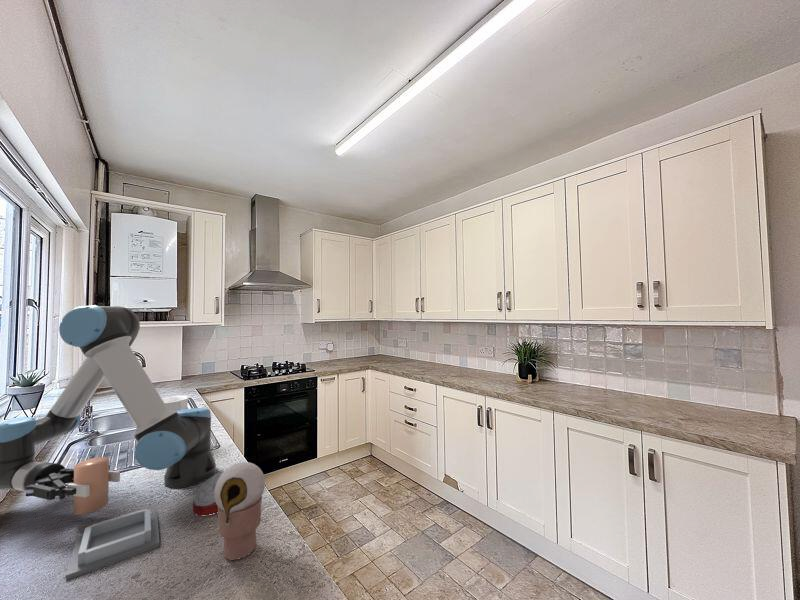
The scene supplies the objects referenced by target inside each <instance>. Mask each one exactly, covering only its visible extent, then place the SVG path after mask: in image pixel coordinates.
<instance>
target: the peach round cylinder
mask: <svg viewBox="0 0 800 600" xmlns="http://www.w3.org/2000/svg"><path fill="white" fill-rule="evenodd" d="M109 465H110V457H108V456H97V457H92V458H88V459H84V460H82V461H79V462H78V463H76V464H75V465H74V466H73V469H74V484H83V485H89V496H88V497H79V496H73V510H72V511H73V512H72V513H73V514H74V515H78V516H79V515H87V514H90V513H94V512H96V511H99V510H101V509H103V508H105V507H106V506H107V505H108V504H109V493H110V492H109V485H110V484H109V483H110V482H109Z"/></svg>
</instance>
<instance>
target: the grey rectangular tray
mask: <svg viewBox="0 0 800 600" xmlns="http://www.w3.org/2000/svg"><path fill="white" fill-rule="evenodd" d="M159 532H160V531H159V520H158V511H155V512H151V507H150V508H146V509H145V508H143V509H139V510H136V511H133V512H130V513H129V512H128V513H126V514H123V515H120V516H116V517H113V518H109V519H106V520H102V521H100V522H95V523H93V524H92V525H89V526H86V527H85V528H84V531H83V534H80V535H77V537H76V541H75V543H74V547H73V550H72V553H71V557H70V560H69V563H68V567H67V570H66V573H65V581H69V580H70V579H73V578H75V577H79V576H82V575H84V574H87V573H90V572H92V571H96V570H99V569H101V568H103V567H106V566H109V565H113V564H115V563H117V562H120V561H124V560H127V559H130V558H132V557H134V556H137V555H141V554H143V553H145V552H148V551H151V550H153V549H157V548H159V547H160V537H159V536H160V534H159Z"/></svg>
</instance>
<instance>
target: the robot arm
mask: <svg viewBox="0 0 800 600" xmlns="http://www.w3.org/2000/svg"><path fill="white" fill-rule="evenodd" d="M61 320H62V321H61V322H60V323H59V327H58V332H59V336H60V338H61V339H62V341H63V342H64V343H65V344H67V345H71V346H73V347H75V348H76V347H77V348H79V349H80V350H81V352H82V354H83V355H84V357H85V359H84V361H83V362H82V363H81V365H80V366H79V368H78V369H77V370H76V372H75V374H74V375H73V377H71V379H70V381H69V382H68V383H67V385H66V387H65V388H64V389H63V391H62V392H61V394H60V395H59V396H58V398H57V400H56V401H55V402H54V404H53V405H52V407H51V408H50V409H49V411H48V412H47V413H46V415H45V416H44V417H41V418H39V419H36V418H35V417H32V416H31V417H28V416H25V417H17V418H14V419H10V420H5V421H2V422H0V490H12V491H18V492H19V491H20V492H25V497H35V498H38V499H42V500H47V501H53V500H55V499H56V497H58V500H64V499H66V498H67V497H69V496H70V497H71V496H73V497H74V496H79V497H88V496H89V485H83V484H74V468H66V467H65V466H64V465H63V464H61V463H56V462H47V461H43V462H42V461H35V459H36V447H37V446H39V445H41V444H44V443H46V442H48V441H51V440H53V439H56V438H58V437H62V436H64V435H67V434H68V433H70V432H72V431H74V430H76V429H77V428H78V427H79V426H80V424H81V420H82V419H81V417H82V416H81V415H80V414H81V412H83V409H84V408H85V407H86V405H87V404H88V402H89V401H90V399H91V398H92V397H93V395H94V394H95V392H96V390H97V389H98V388H99V386H100V385H101V384H102V382H103V381H104V380H105V379H106V380H107V382H109V384H110V386H111V388H112V390H113V391H114V393H115V394H116V396H117V398H118V399H119V401H120V403H121V404H122V406H123V407H124V409H125V410H126V413H128V415H129V417H130V418H131V421H132V422H133V424H134V425H135V427H136V429H135V430H134V434H133V436H134V438H135V440H136V442H137V444H136V445H135V450H134V457H135V460H136V462H137V463H138V464H139V465H140V466H142V467H143V468H144V469H147V470H150V471H153V470H154V471H162V470H165V473H164V477H163V478H164V479H163V483H164V485H165V487H168V488H173V489H174V488H175V489H177V488H180V489H181V488H186V487H190V486H195V485H197V484H200V482H201V483H204V482H206V481H207V480H208V479H209V478H210V477H211V476H212V477H213V476H214V475H215V474H216V473H215V472H217V464H216V461H215V458H214V456H213V453H212V449H211V442H212V441H211V440H212V439H211V437H212V436H211V435H212V434H211V433H212V432H211V431H212V429H211V428H212V427H211V426H212V414H211V410H210V408H207V407H196V408H195V407H194V408H192V407H191V408H187V409H183V410H178V411H172V410H169V409H168V408H167V407H166V405H165V403H164V402H163V400H162V398H163V397H161V395H160V394H159V392H158V390H157V389H156V387H155V385H154V384H153V382H152V381H151V379H150V378H149V375H148V374H147V373H146V371H145V369H144V367H143V365H142V364H141V362H140V360H138V358H137V356H136V354H135V352H134V351H133V349H132V348H131V347H132V345H133V343H134V342H135V340H136V338H137V336H138V334H139V331H140V326H141V325H140V324H141V323H140V319H139V317H138V315H137V314H136V313H135V311H133V310H131V309H130V308H127V307H125V306H117V305H116V306H109V305H108V306H103V305H100V306H99V305H96V304H94V305H93V304H92V305H81V306H78V307H75V308H73V309H70V310H69V311H68V312H67V313H66V314H64V316H63V317H62V319H61ZM110 467H111V464H109V483H110V482H111V483H119V482H121V471H120V470H110V469H111V468H110ZM66 496H67V497H66Z"/></svg>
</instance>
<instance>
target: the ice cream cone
mask: <svg viewBox="0 0 800 600" xmlns="http://www.w3.org/2000/svg"><path fill="white" fill-rule="evenodd" d="M222 472H223V473H222V474H221V476H220V477H219V479H218V481H217V483H216V486H215V490H214V498H215V502H216V504H217V506H218V513H217V515H218V533H219V535H220V536H221V537H223V556H224V558H225V557H226V558H227V559H230V560H229V561H231V560H234V561H236V560H235V559H239V558H242V557H244V556H247V555H248V554H249V553H251V552H252V551H253V550H254V548H255V549H256V547H257V532H256V531H257V528H258V527H259V526H260V524H261V520H262V500H263V494H264V491H265V487H266V486H265V485H266V480H265V479H266V478H265V475H264V473H263V472H264V471H262V469H261V468H260V467H259V466H258V465H256V464H255V463H254V462H253V463H252V462H249V461H248V462H247V461H243V462H241V461H240V462H236V463H235V464H232V465H231V466H229V467H227V468H226V469H225V470H223V471H222ZM255 546H256V547H255ZM254 551H255V550H254ZM254 551H253V552H254ZM253 552H252V553H253ZM252 553H251V554H252ZM248 556H249V555H248ZM248 556H247V557H248ZM226 558H225V559H226ZM227 559H226V560H227ZM242 559H243V558H242Z"/></svg>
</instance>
